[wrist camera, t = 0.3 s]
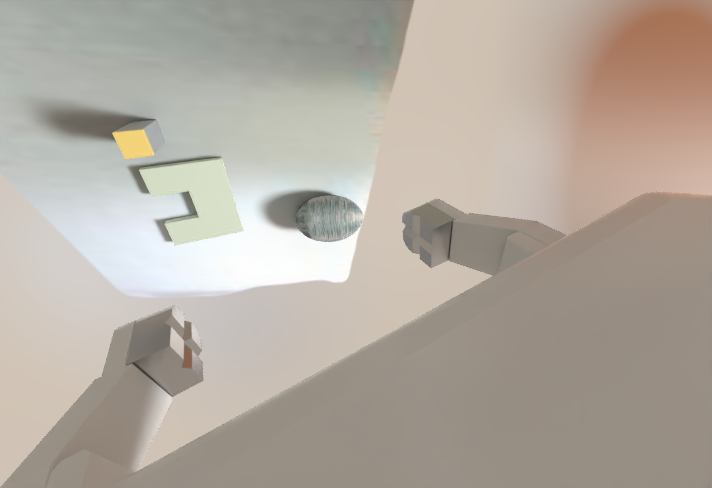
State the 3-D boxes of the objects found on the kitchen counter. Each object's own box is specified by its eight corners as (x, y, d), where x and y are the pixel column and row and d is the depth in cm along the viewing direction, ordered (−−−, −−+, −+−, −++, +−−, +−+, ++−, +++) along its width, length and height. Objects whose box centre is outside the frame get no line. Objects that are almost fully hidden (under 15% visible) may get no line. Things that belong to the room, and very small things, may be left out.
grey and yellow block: (131, 121, 41) (111, 132, 34) (156, 119, 42) (142, 129, 35) (141, 144, 43) (124, 159, 35) (165, 141, 43) (153, 155, 36)
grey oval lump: (290, 243, 57) (314, 245, 49) (286, 197, 57) (311, 191, 49) (343, 238, 66) (371, 239, 58) (341, 198, 65) (369, 193, 57)
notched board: (141, 167, 44) (138, 170, 43) (221, 156, 47) (221, 159, 46) (175, 241, 52) (174, 245, 50) (242, 227, 55) (243, 231, 54)
